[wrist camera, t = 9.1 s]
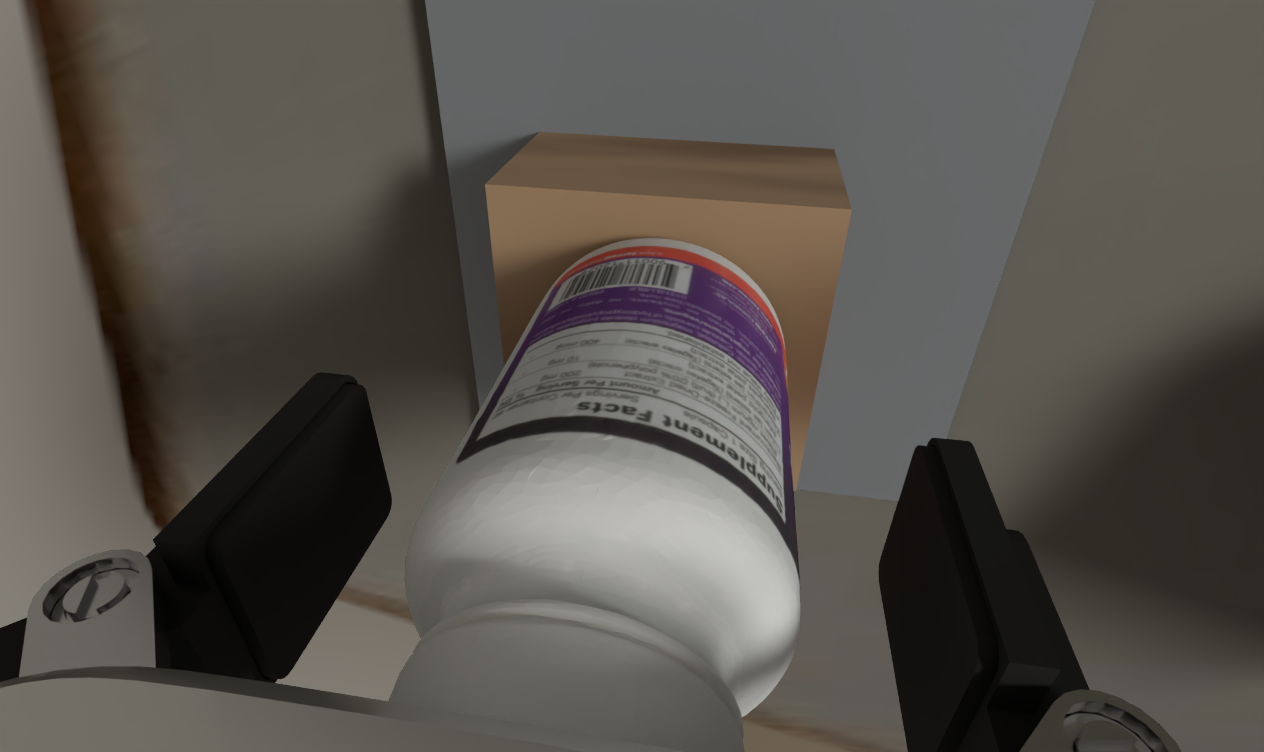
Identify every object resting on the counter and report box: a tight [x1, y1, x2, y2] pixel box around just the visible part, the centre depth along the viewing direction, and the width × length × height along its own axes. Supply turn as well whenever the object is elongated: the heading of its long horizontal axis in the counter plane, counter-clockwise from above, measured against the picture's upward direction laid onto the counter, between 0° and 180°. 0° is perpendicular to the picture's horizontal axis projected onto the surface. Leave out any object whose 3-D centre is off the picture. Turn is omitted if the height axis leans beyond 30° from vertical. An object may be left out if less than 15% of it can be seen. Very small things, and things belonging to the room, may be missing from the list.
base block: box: [485, 132, 852, 491], centre depth 17 cm, size 7×7×4 cm
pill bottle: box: [389, 238, 801, 752], centre depth 11 cm, size 5×5×10 cm
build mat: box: [425, 0, 1096, 501], centre depth 17 cm, size 18×14×1 cm
